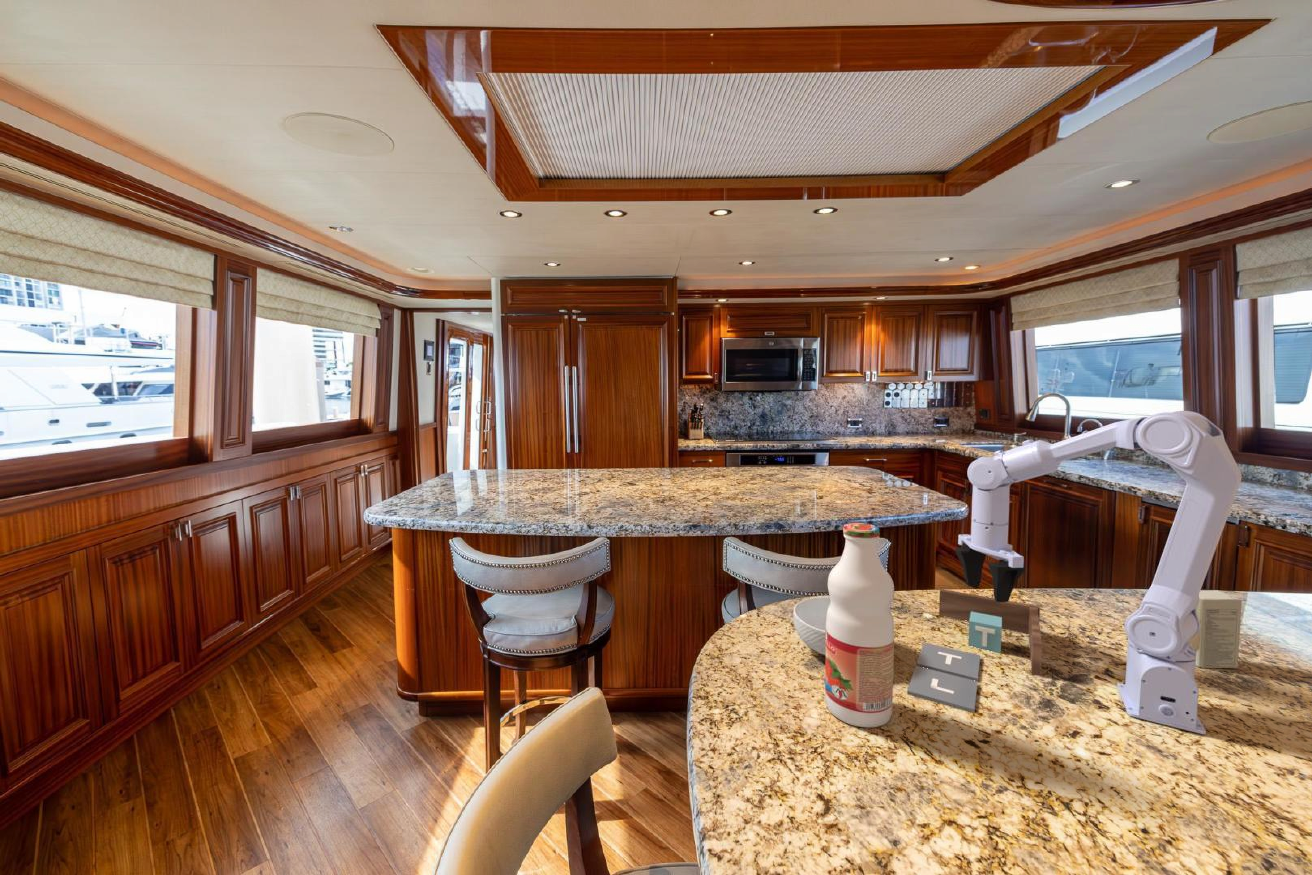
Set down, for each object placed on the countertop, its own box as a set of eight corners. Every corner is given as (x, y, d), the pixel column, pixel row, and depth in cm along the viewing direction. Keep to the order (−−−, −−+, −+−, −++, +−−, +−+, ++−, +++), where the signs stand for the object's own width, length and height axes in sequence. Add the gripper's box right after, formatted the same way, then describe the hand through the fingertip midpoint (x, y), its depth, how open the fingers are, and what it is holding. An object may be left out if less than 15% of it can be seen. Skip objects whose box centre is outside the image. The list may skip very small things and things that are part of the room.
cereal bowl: (783, 660, 92) (783, 622, 91) (803, 623, 106) (803, 590, 106) (887, 684, 84) (888, 642, 83) (893, 641, 98) (894, 605, 98)
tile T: (977, 681, 84) (977, 678, 84) (916, 665, 89) (916, 662, 89) (980, 658, 92) (980, 655, 92) (923, 644, 97) (923, 642, 97)
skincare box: (1214, 656, 91) (1219, 589, 90) (1239, 669, 87) (1244, 599, 86) (1174, 655, 92) (1179, 588, 91) (1197, 667, 87) (1202, 598, 86)
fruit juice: (892, 736, 71) (897, 537, 69) (821, 720, 75) (824, 531, 72) (891, 699, 80) (896, 521, 77) (827, 686, 83) (830, 516, 81)
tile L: (974, 712, 76) (974, 709, 76) (907, 693, 81) (907, 690, 81) (977, 684, 83) (977, 681, 83) (915, 668, 88) (915, 665, 88)
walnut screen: (1043, 676, 85) (1045, 644, 85) (928, 649, 95) (929, 620, 94) (1038, 633, 101) (1039, 606, 100) (939, 613, 110) (940, 588, 110)
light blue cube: (1000, 654, 93) (1001, 627, 93) (968, 647, 96) (969, 621, 95) (1000, 642, 97) (1001, 617, 97) (970, 636, 100) (970, 611, 100)
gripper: (1042, 531, 88) (1038, 608, 89) (983, 512, 102) (980, 578, 103) (1002, 532, 87) (999, 609, 88) (949, 513, 102) (946, 579, 103)
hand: (986, 593), depth 96 cm, fingers open, 7 cm apart
